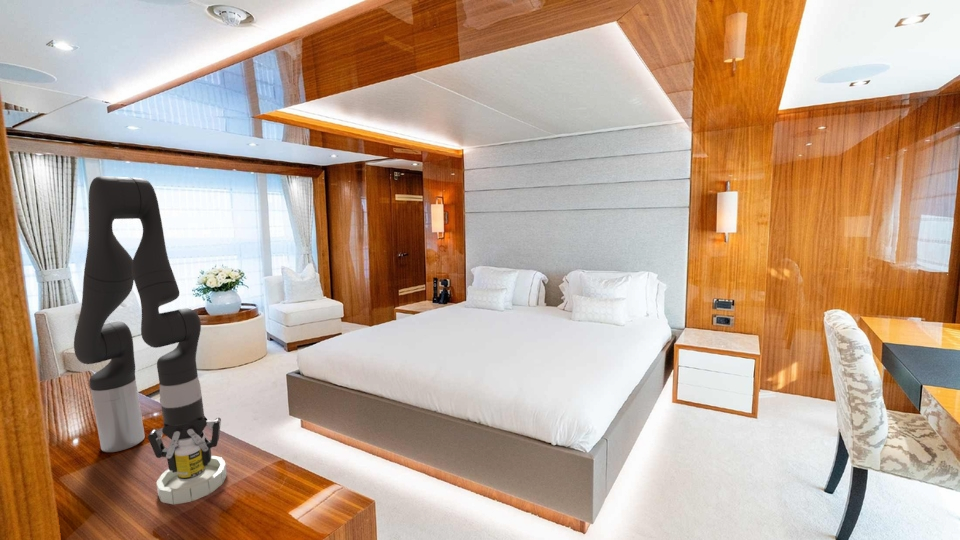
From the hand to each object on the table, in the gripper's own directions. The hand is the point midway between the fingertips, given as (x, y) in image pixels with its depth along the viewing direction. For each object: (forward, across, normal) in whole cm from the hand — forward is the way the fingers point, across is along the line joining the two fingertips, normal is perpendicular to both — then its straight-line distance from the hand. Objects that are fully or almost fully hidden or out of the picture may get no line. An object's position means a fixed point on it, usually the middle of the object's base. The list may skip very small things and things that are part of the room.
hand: (191, 466), depth 100 cm
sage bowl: (+4, 0, 0) cm, 4 cm away
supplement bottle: (+2, 0, 0) cm, 2 cm away
